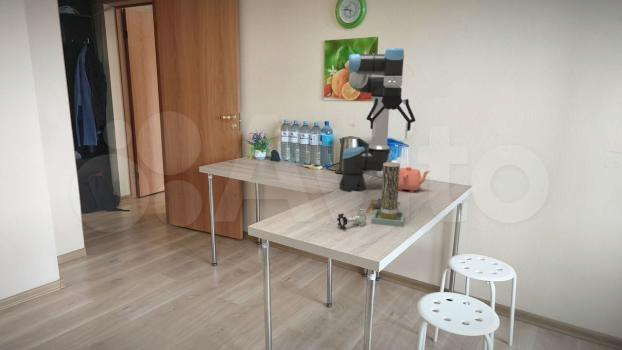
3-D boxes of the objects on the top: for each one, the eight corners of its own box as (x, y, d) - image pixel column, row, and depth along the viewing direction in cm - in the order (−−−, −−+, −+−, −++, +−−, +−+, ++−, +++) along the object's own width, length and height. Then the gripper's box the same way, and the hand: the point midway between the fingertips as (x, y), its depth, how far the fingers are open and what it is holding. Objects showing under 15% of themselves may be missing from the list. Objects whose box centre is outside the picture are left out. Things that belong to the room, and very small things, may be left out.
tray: (371, 225, 169) (371, 218, 168) (375, 215, 181) (375, 209, 180) (402, 228, 165) (403, 221, 165) (404, 218, 178) (404, 212, 177)
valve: (360, 222, 173) (336, 226, 167) (361, 207, 171) (337, 211, 166) (369, 227, 167) (344, 231, 162) (370, 212, 165) (345, 216, 160)
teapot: (388, 187, 231) (389, 165, 228) (411, 185, 236) (412, 163, 233) (405, 195, 215) (406, 171, 212) (429, 192, 221) (431, 169, 218)
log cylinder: (397, 219, 175) (400, 162, 170) (395, 223, 169) (398, 165, 163) (381, 217, 177) (384, 161, 172) (379, 222, 171) (382, 164, 166)
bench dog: (376, 212, 183) (377, 200, 181) (377, 210, 185) (378, 198, 184) (385, 213, 182) (386, 201, 180) (386, 211, 184) (387, 199, 183)
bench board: (365, 214, 183) (365, 212, 183) (371, 201, 203) (371, 199, 203) (396, 217, 179) (396, 215, 179) (400, 203, 200) (400, 202, 199)
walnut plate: (372, 209, 187) (372, 203, 187) (374, 205, 194) (374, 199, 193) (391, 211, 185) (392, 205, 184) (392, 207, 191) (393, 201, 191)
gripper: (361, 86, 166) (359, 137, 171) (423, 87, 160) (419, 140, 165) (364, 86, 173) (362, 134, 178) (423, 87, 167) (419, 137, 172)
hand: (389, 137), depth 172 cm, fingers open, 13 cm apart
